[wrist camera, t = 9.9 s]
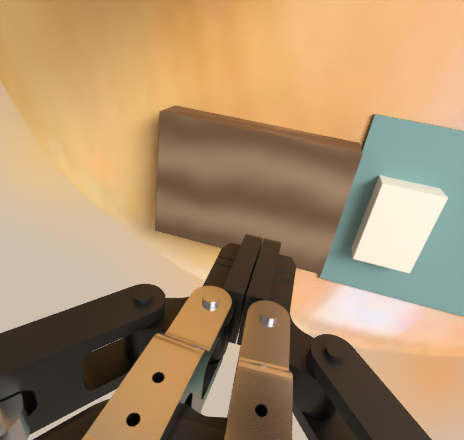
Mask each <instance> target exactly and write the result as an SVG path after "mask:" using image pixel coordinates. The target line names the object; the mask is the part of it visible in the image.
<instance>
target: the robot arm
mask: <svg viewBox="0 0 464 440" xmlns="http://www.w3.org/2000/svg"><path fill="white" fill-rule="evenodd" d="M262 242H263V244H262ZM281 243H282V242H279V241H274V240H270V239H266V238H264V241H263V238H262V237H257V236H253V235H249V234H245V236H244V239H243V241H242V243H241V245H239V244H235V243H231V242H230V243H229V244H227V245H226V246H224V247H223V248H222V249H221V251H220V253H219V255H218V257H217V259H216V261H215V264H214V265H213V267H212V269H211V271H210V273H209V275H208V277H207V279H206V281H205V283H204V285H203V287H200V288H198V289H196V290H195V291H193V293H192V294H191V295H190V297H186V298H165V294H164V292H163V291H162V290H161V289H160V288H159V287H157V286H155V285H151V284H140V285H135V286H132V287H129V288H126V289H124V290H121V291H119V292H115V293H112V294H110V295H107V296H104V297H101V298H98V299H96V300H93V301H90V302H87V303H84V304H82V305H79V306H76V307H73V308H70V309H68V310H65V311H62V312H59V313H56V314H53V315H51V316H48V317H45V318H42V319H39V320H37V321H34V322H31V323H28V324H25V325H23V326H20V327H17V328H14V329H11V330H9V331H6V332H3V333H0V440H27V439H28V437H29V435H30V434H32V433H34V432H35V431H37V430H39V429H41V428H43V427H45V426H47V425H49V424H50V423H53V422H54V421H56V420H58V419H60V418H62V417H64V416H66V415H67V414H70V413H72V412H73V411H75V410H77V409H79V408H81V407H83V406H85V405H87V404H89V403H91V402H92V401H94V400H96V399H98V398H100V397H102V396H104V395H106V394H108V393H109V392H112V391H113V390H115V389H117V390H116V391H115V393H114V394H113V396H112V397H111V399H108V400H105V401H102V402H100V403H97V404H95V405H93V406H91V407H89V408H88V409H86V410H84V411H82V412H81V413H79V414H77V415H75V416H73V417H72V418H70V419H68V420H67V421H65V422H63V423H61V424H59V425H58V426H56V427H54V428H52V429H51V430H49V431H47V432H46V433H44V434H42V435H40V436H38V437H37V438H35V439H33V440H292V411H293V413H294V415H295V417H296V419H297V421H298V422H299V424H300V426H301V427H302V429H303V431H304V433H305V435H306V436H307V438H308V440H432V439H431V438H430V437H429V436H428V435H427V434H426V433H425V431H424V430H423V429H422V428H421V427H420V425H419V424H418V423H417V422H416V421H415V420H414V418H413V417H412V416H411V415H410V414H409V412H408V411H407V410H406V409H405V408H404V407H403V405H402V404H401V403H400V402H399V401H398V400H397V399H396V397H395V396H394V395H393V394H392V393H391V391H390V390H389V389H388V388H387V387H386V386H385V384H384V383H383V382H382V381H381V380H380V379H379V377H378V376H377V375H376V374H375V373H374V371H373V370H372V369H371V368H370V367H369V366H368V365H367V363H366V362H365V361H364V360H363V359H362V357H361V356H360V355H359V354H358V353H357V352H356V350H355V349H354V348H353V347H352V346H351V345H350V344H349V343H348V342H347V341H345V340H344V339H342V338H340V337H338V336H335V335H331V334H322V335H319V336H317V337H315V338H313V337H311V336H309V335H308V334H306V333H304V332H303V331H301V330H300V329H299V328H298V327H297V326H296V325H295V324H294V323H293V321H292V319H291V316H290V306H291V299H292V292H293V285H294V278H295V271H296V265H295V263H294V261H293V259H292V257H288V256H284V255H280V254H279V252H280V248H281ZM239 329H240V331H239ZM238 333H239V337H238V341H237V344H238V345H241V347H240V352H239V357H238V362H237V368H236V373H235V378H234V383H233V389H232V395H231V400H230V405H229V411H228V415H227V418H223V417H221V418H220V417H207V416H204V415H202V414H200V413H201V410H202V407H203V405H204V403H205V400H206V398H207V395H208V393H209V391H210V388H211V386H212V384H213V381H214V379H215V377H216V374H217V372H218V370H219V367H220V365H221V363H222V360H223V355H224V354H225V351H226V349H227V346H228V342H231V343H235V342H236V339H237V336H238ZM121 338H122V339H121ZM119 339H120V340H119ZM116 340H117V341H116ZM114 341H115V342H114ZM112 342H113V343H112ZM109 343H111V344H109ZM107 344H108V345H107ZM105 345H106V346H105ZM103 346H104V347H103ZM100 347H102V348H100ZM98 348H99V349H98ZM96 349H97V350H96ZM94 350H95V351H94ZM92 351H93V352H92Z"/></svg>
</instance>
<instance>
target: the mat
mask: <svg viewBox="0 0 464 440" xmlns="http://www.w3.org/2000/svg"><path fill="white" fill-rule="evenodd" d="M362 153H363V155H362V157H361V160H360V163H359V166H358V169H357V172H356V175H355V178H354V181H353V184H352V187H351V190H350V192H349V195H348V198H347V201H346V204H345V207H344V210H343V213H342V216H341V219H340V222H339V224H338V227H337V230H336V233H335V236H334V239H333V242H332V245H331V248H330V251H329V254H328V257H327V259H326V262H325V265H324V268H323V271H322V274H320V275H319V278H322V279H326V280H329V281H333V282H337V283H341V284H344V285H348V286H352V287H356V288H359V289H363V290H367V291H371V292H374V293H378V294H382V295H386V296H389V297H393V298H397V299H400V300H404V301H408V302H412V303H415V304H419V305H423V306H427V307H430V308H434V309H438V310H442V311H445V312H449V313H453V314H457V315H460V316H464V131H462V130H456V129H451V128H446V127H441V126H435V125H430V124H425V123H419V122H414V121H409V120H404V119H398V118H393V117H388V116H382V115H377V114H374V117H373V120H372V123H371V126H370V129H369V132H368V134H367V137H366V140H365V143H364V146H363V149H362ZM379 175H381V176H386V177H390V178H395V179H399V180H404V181H408V182H413V183H418V184H422V185H427V186H431V187H436V188H440V189H441V190H442V191H443V192H444V194H445V195H446V196H447V197H448V199H447V201H446V203H445V205H444V207H443V209H442V211H441V213H440V215H439V217H438V219H437V221H436V223H435V225H434V227H433V229H432V231H431V233H430V235H429V237H428V239H427V241H426V243H425V245H424V247H423V249H422V250H421V252H420V254H419V256H418V258H417V260H416V262H415V264H414V266H413V268H412V270H411V272H410V273H406V272H402V271H398V270H394V269H390V268H387V267H383V266H379V265H375V264H371V263H367V262H363V261H359V260H356V259H353V255H352V245H353V242H354V240H355V237H356V234H357V232H358V229H359V227H360V224H361V221H362V219H363V216H364V214H365V211H366V208H367V206H368V203H369V200H370V198H371V195H372V193H373V190H374V187H375V185H376V182H377V180H378V177H379Z"/></svg>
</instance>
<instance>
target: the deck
mask: <svg viewBox="0 0 464 440" xmlns="http://www.w3.org/2000/svg"><path fill="white" fill-rule="evenodd" d="M362 155H363V153H362V150H361V147H360V144H359V143H356V142H351V141H346V140H342V139H337V138H332V137H327V136H322V135H317V134H312V133H307V132H302V131H297V130H292V129H288V128H283V127H278V126H273V125H268V124H263V123H258V122H253V121H248V120H243V119H238V118H233V117H229V116H224V115H219V114H214V113H209V112H204V111H199V110H194V109H189V108H184V107H179V106H173V107H170V108H168V109H165V110H162V111H160V118H159V144H158V170H157V196H156V222H155V230H156V231H160V232H163V233H167V234H171V235H175V236H178V237H182V238H186V239H190V240H193V241H197V242H201V243H205V244H209V245H212V246H216V247H220V248H223V247H224V246H226V245H227V244H229V243H230V242H231V243H235V244H239V245H241V243H242V241H243V239H244V236H245V234H249V235H253V236H257V237H262V238H263V241H264V238H266V239H270V240H274V241H279V242H282V243H281V248H280V252H279V254H280V255H284V256H288V257H292V259H293V261H294V263H295V265H296V268H299V269H303V270H306V271H310V272H314V273H318V274H322V271H323V268H324V265H325V262H326V259H327V257H328V254H329V251H330V248H331V245H332V242H333V239H334V236H335V233H336V230H337V227H338V224H339V222H340V219H341V216H342V213H343V210H344V207H345V204H346V201H347V198H348V195H349V192H350V190H351V187H352V184H353V181H354V178H355V175H356V172H357V169H358V166H359V163H360V160H361V157H362ZM262 244H263V242H262Z"/></svg>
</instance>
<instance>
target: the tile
mask: <svg viewBox="0 0 464 440" xmlns="http://www.w3.org/2000/svg"><path fill="white" fill-rule="evenodd" d="M447 199H448V197H447V196H446V195H445V194H444V192H443V191H442V190H441V189H440V188H436V187H431V186H427V185H422V184H418V183H413V182H408V181H404V180H399V179H395V178H390V177H386V176H381V175H379V177H378V180H377V182H376V185H375V187H374V190H373V193H372V195H371V198H370V200H369V203H368V206H367V208H366V211H365V214H364V216H363V219H362V221H361V224H360V227H359V229H358V232H357V234H356V237H355V240H354V242H353V245H352V255H353V259H356V260H359V261H363V262H367V263H371V264H375V265H379V266H383V267H387V268H390V269H394V270H398V271H402V272H406V273H410V272H411V270H412V268H413V266H414V264H415V262H416V260H417V258H418V256H419V254H420V252H421V250H422V249H423V247H424V245H425V243H426V241H427V239H428V237H429V235H430V233H431V231H432V229H433V227H434V225H435V223H436V221H437V219H438V217H439V215H440V213H441V211H442V209H443V207H444V205H445V203H446V201H447Z"/></svg>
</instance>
